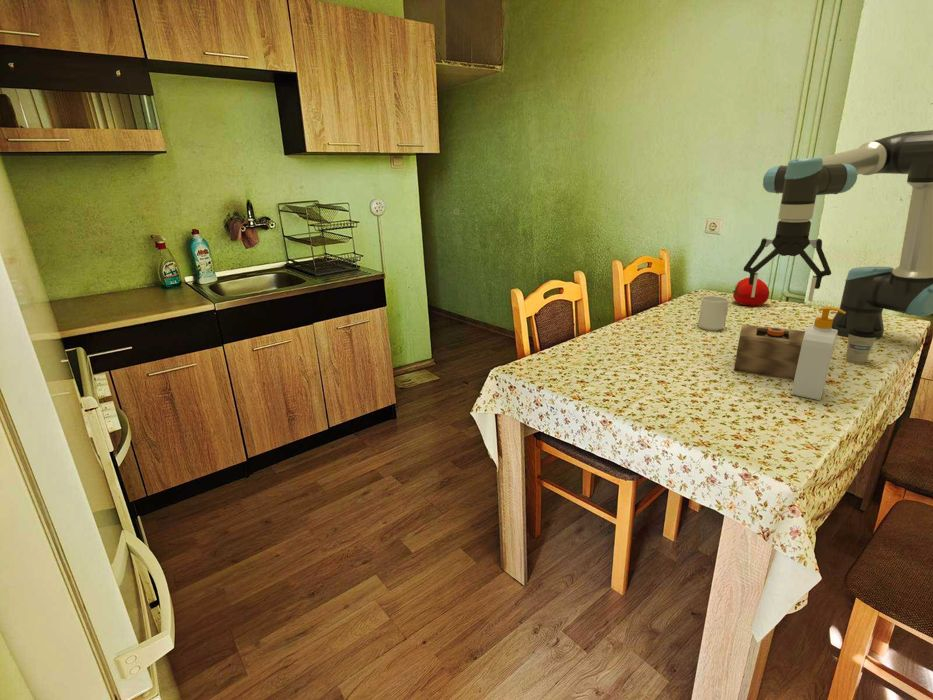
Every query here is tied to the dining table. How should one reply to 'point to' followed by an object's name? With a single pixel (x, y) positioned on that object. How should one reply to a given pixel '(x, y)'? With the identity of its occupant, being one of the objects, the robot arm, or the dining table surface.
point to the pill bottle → (775, 333)
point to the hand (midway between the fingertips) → (780, 298)
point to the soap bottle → (815, 357)
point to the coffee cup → (860, 344)
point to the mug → (713, 313)
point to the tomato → (745, 292)
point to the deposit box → (768, 352)
